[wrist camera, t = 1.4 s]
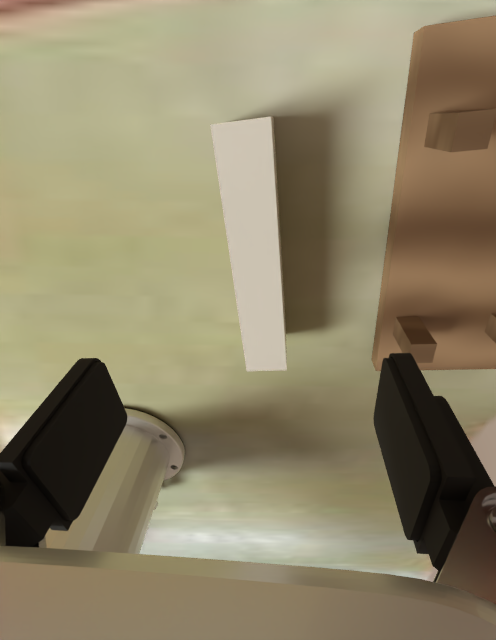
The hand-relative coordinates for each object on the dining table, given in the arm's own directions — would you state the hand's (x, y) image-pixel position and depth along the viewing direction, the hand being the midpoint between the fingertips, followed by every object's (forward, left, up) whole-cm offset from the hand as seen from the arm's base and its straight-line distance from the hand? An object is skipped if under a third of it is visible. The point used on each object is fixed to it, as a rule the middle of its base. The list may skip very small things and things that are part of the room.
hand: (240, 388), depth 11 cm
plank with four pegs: (0, -14, -15) cm, 21 cm away
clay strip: (0, 0, -15) cm, 15 cm away
